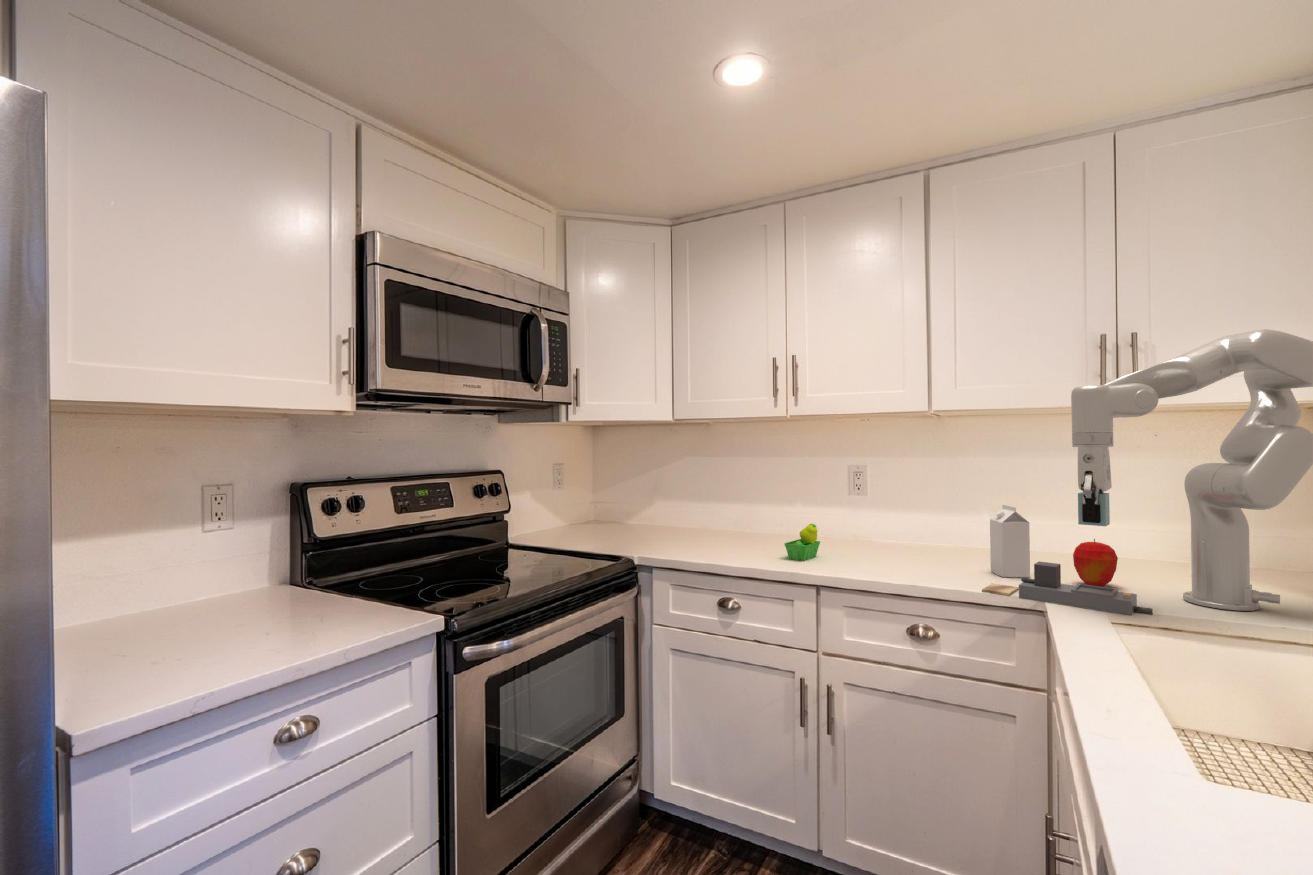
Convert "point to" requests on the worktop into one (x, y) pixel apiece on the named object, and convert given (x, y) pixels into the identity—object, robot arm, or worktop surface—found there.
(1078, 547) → the apple
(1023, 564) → the milk carton
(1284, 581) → the worktop surface
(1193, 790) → the worktop surface
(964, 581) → the worktop surface
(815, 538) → the fruit basket
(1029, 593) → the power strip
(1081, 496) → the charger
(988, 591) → the cork pad
